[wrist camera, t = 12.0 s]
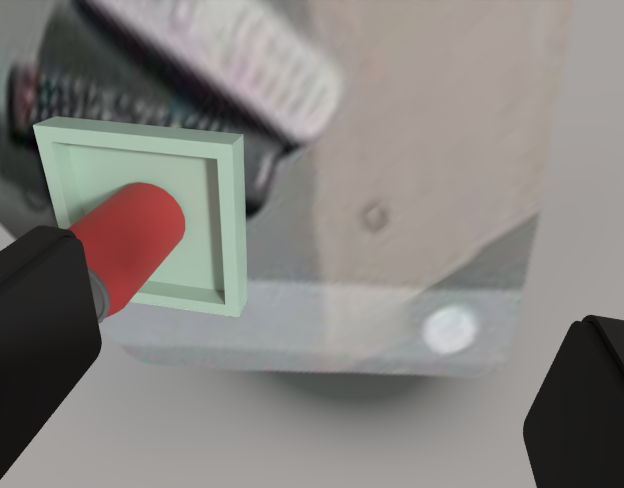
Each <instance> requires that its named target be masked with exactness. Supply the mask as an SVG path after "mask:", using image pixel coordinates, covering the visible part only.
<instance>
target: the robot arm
mask: <svg viewBox="0 0 624 488" xmlns="http://www.w3.org/2000/svg"><path fill="white" fill-rule="evenodd" d="M101 344H102V341H101V335H100V330H99V324H98V319H97V314H96V309H95V304H94V298H93V293H92V288H91V283H90V278H89V273H88V267H87V262H86V257H85V252H84V247H83V244H82V242H81V240H79V239H77V238H76V235H75V234H74V233H73V232H72V231H71V230H68V229H62V228H55V227H49V226H37V227H35V228H34V229H32V230H31V231H29V232H28V233H26V234H25V235H23V236H22V237H20V238H19V239H17V240H16V241H15V242H13V243H12V244H10V245H9V246H7V247H6V248H5V249H3V250H1V251H0V480H1V478H2V477H3V475H5V473H6V472H7V471H8V470H9V468H10V467H11V466H12V464H13V463H14V462H15V461H16V460H17V458H18V457H19V456H20V454H21V453H22V452H23V451H24V449H25V448H26V447H27V446H28V444H29V443H30V442H31V441H32V439H33V438H34V437H35V436H36V434H37V433H38V432H39V431H40V429H41V428H42V427H43V425H44V424H45V423H46V422H47V420H48V419H49V418H50V417H51V415H52V414H53V413H54V412H55V410H56V409H57V408H58V407H59V405H60V404H61V403H62V401H63V400H64V399H65V398H66V397H67V395H68V394H69V393H70V391H71V390H72V389H73V388H74V386H75V385H76V384H77V383H78V381H79V380H80V379H81V378H82V376H83V375H84V374H85V372H86V371H87V370H88V369H89V368H90V366H91V365H92V364H93V362H94V361H95V360H96V359H97V357H98V355H99V353H100V350H101ZM523 437H524V442H525V445H526V449H527V453H528V456H529V460H530V464H531V468H532V471H533V475H534V479H535V482H536V486H537V488H624V320H619V319H613V318H607V317H601V316H595V315H588V316H586V317H585V318H583V320H582V321H581V322H580V321H575V322H574V323H573V324H572V325H571V326H570V328H569V330H568V332H567V334H566V336H565V338H564V340H563V342H562V345H561V346H560V349H559V351H558V353H557V355H556V357H555V359H554V361H553V363H552V365H551V367H550V369H549V371H548V373H547V375H546V377H545V379H544V382H543V384H542V386H541V388H540V390H539V392H538V394H537V396H536V398H535V400H534V402H533V404H532V406H531V409H530V410H529V412H528V415H527V417H526V419H525V422H524V427H523Z"/></svg>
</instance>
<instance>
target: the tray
mask: <svg viewBox="0 0 624 488" xmlns="http://www.w3.org/2000/svg"><path fill="white" fill-rule="evenodd" d="M33 128H34V132H35V136H36V140H37V144H38V148H39V152H40V156H41V160H42V164H43V168H44V172H45V176H46V179H47V183H48V187H49V191H50V195H51V199H52V203H53V207H54V211H55V215H56V219H57V223H58V227H59V228H62V229H67V228H69V227H70V226H71V225H73V224H74V223H75V222H77V221H78V220H80V219H81V218H82V217H84V216H85V215H86V214H88V213H89V212H90V211H92V210H93V209H94V208H96V207H97V206H98V205H100V204H101V203H103V202H104V201H105V200H107V199H108V198H109V197H111V196H112V195H113V194H115V193H116V192H117V191H119V190H120V189H122V188H123V187H125V186H127V185H128V184H133V183H139V182H142V183H148V184H153V185H155V186H158V187H160V188H162V189H164V190H165V191H166V192H168V193H169V194H170V195H171V196H173V197H174V199H175V200H176V201H177V203H178V204H179V205H180V207H181V209H182V211H183V214H184V217H185V232H184V236H183V239H182V240H181V241H180V242H179V243H178V245H177V246H176V247H175V248H174V249H173V250H172V252H171V253H170V254H169V255H168V256H167V257H166V259H165V260H164V261H163V262H162V263H161V265H160V266H159V267H158V268H157V269H156V270H155V272H154V273H153V274H152V275H151V276H150V277H149V279H148V280H147V281H146V282H145V283H144V285H143V286H142V287H141V288H140V289H139V290H138V292H137V293H136V294H135V295H134V296H133V297H132V299H131V300H130V301H129V302H136V303H143V304H150V305H157V306H164V307H170V308H177V309H184V310H191V311H198V312H205V313H212V314H219V315H225V316H232V317H239V316H240V314H241V312H242V310H243V308H244V306H245V304H246V302H247V300H248V294H247V257H246V219H245V182H244V145H243V134H235V133H224V132H214V131H203V130H193V129H183V128H172V127H162V126H151V125H141V124H130V123H120V122H109V121H99V120H89V119H78V118H68V117H57V116H56V117H53V118H50V119H48V120H45V121H42V122H40V123H37V124H34V125H33Z"/></svg>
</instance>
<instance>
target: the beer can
mask: <svg viewBox="0 0 624 488" xmlns="http://www.w3.org/2000/svg"><path fill="white" fill-rule="evenodd" d="M67 229H68V230H71V231H72V232H73V233H74V234H75V235H76V238H77V239H79V240H81V242H82V244H83V247H84V252H85V257H86V262H87V267H88V273H89V278H90V283H91V288H92V293H93V298H94V304H95V309H96V314H97V319H98V324H99V323H101V322H102V321H103V320H104V319H105V318H106V317H108V316H111V315H113V314H115V313H117V312H118V311H120V310H121V309H123V308H124V307H125V306H126V305H127V303H128V302H129V301H130V300H131V299H132V297H133V296H134V295H135V294H136V293H137V292H138V290H139V289H140V288H141V287H142V286H143V285H144V283H145V282H146V281H147V280H148V279H149V277H150V276H151V275H152V274H153V273H154V272H155V270H156V269H157V268H158V267H159V266H160V265H161V263H162V262H163V261H164V260H165V259H166V257H167V256H168V255H169V254H170V253H171V252H172V250H173V249H174V248H175V247H176V246H177V245H178V243H179V242H180V241H181V240H182V239H183V236H184V232H185V217H184V214H183V211H182V209H181V207H180V205H179V204H178V203H177V201H176V200H175V199H174V197H173V196H171V195H170V194H169V193H168V192H166V191H165V190H164V189H162V188H160V187H158V186H155V185H153V184H148V183H142V182H139V183H133V184H128V185H127V186H125V187H123V188H122V189H120V190H119V191H117V192H116V193H115V194H113V195H112V196H111V197H109V198H108V199H107V200H105V201H104V202H103V203H101V204H100V205H98V206H97V207H96V208H94V209H93V210H92V211H90V212H89V213H88V214H86V215H85V216H84V217H82V218H81V219H80V220H78V221H77V222H75V223H74V224H73V225H71V226H70V227H69V228H67Z"/></svg>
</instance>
